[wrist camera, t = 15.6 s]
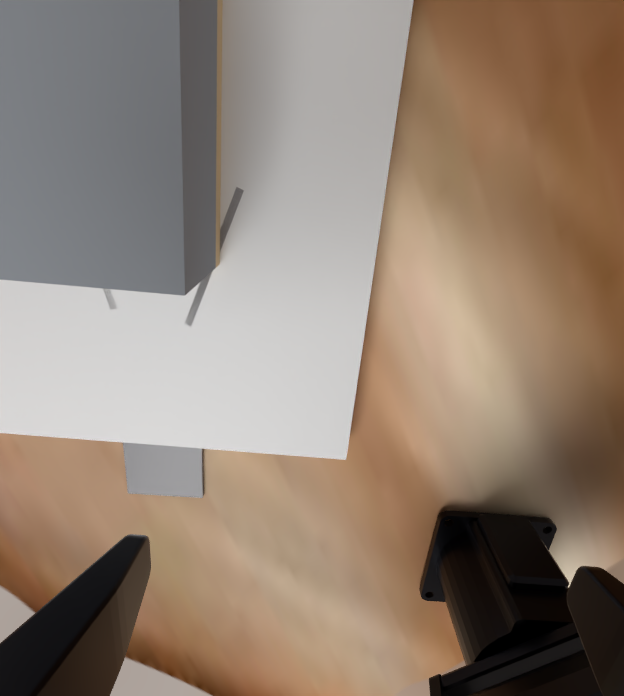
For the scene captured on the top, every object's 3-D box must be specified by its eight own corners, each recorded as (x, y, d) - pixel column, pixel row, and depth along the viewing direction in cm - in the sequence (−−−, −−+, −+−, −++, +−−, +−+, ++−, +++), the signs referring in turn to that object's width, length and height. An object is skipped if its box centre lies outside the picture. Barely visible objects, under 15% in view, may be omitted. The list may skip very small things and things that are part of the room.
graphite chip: (205, 487, 24) (202, 497, 23) (133, 483, 23) (128, 493, 23) (205, 426, 22) (201, 434, 21) (128, 421, 22) (121, 429, 21)
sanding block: (219, 264, 17) (184, 295, 12) (80, 251, 17) (-8, 278, 12) (222, -14, 14) (176, -114, 9) (50, -33, 13) (-88, -145, 9)
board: (343, 441, 22) (346, 459, 20) (-12, 413, 21) (-35, 430, 20) (424, -128, 14) (437, -162, 12) (-144, -199, 13) (-199, -244, 12)
